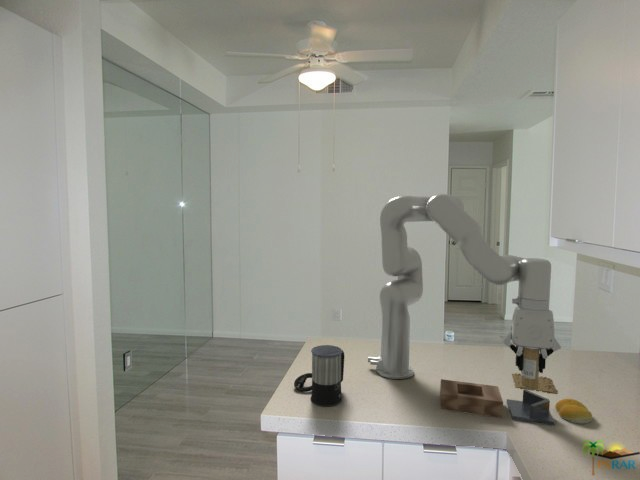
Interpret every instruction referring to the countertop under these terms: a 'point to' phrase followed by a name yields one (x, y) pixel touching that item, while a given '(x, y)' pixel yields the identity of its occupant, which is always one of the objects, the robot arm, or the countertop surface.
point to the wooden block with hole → (471, 398)
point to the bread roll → (573, 411)
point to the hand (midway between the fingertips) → (529, 369)
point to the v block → (531, 409)
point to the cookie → (543, 384)
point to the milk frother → (324, 375)
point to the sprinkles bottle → (530, 368)
